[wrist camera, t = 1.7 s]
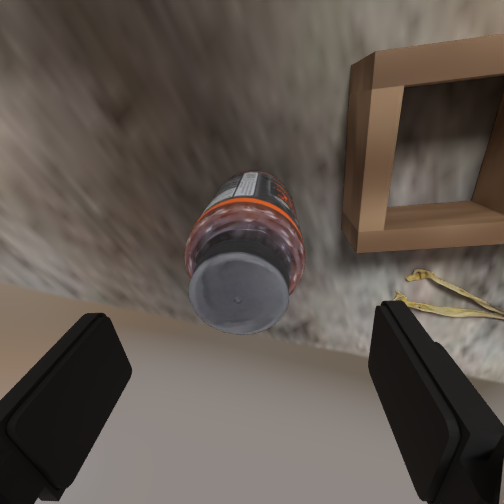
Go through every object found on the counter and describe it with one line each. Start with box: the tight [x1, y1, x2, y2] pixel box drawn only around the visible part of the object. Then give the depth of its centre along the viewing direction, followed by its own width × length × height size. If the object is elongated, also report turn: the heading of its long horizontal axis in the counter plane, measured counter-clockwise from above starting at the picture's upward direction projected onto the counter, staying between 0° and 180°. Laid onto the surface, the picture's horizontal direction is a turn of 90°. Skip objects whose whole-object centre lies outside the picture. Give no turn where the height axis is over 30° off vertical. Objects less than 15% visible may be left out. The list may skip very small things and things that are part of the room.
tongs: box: [393, 269, 504, 320], centre depth 23 cm, size 4×13×2 cm, turn 78°
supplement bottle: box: [185, 171, 305, 335], centre depth 15 cm, size 6×6×11 cm
